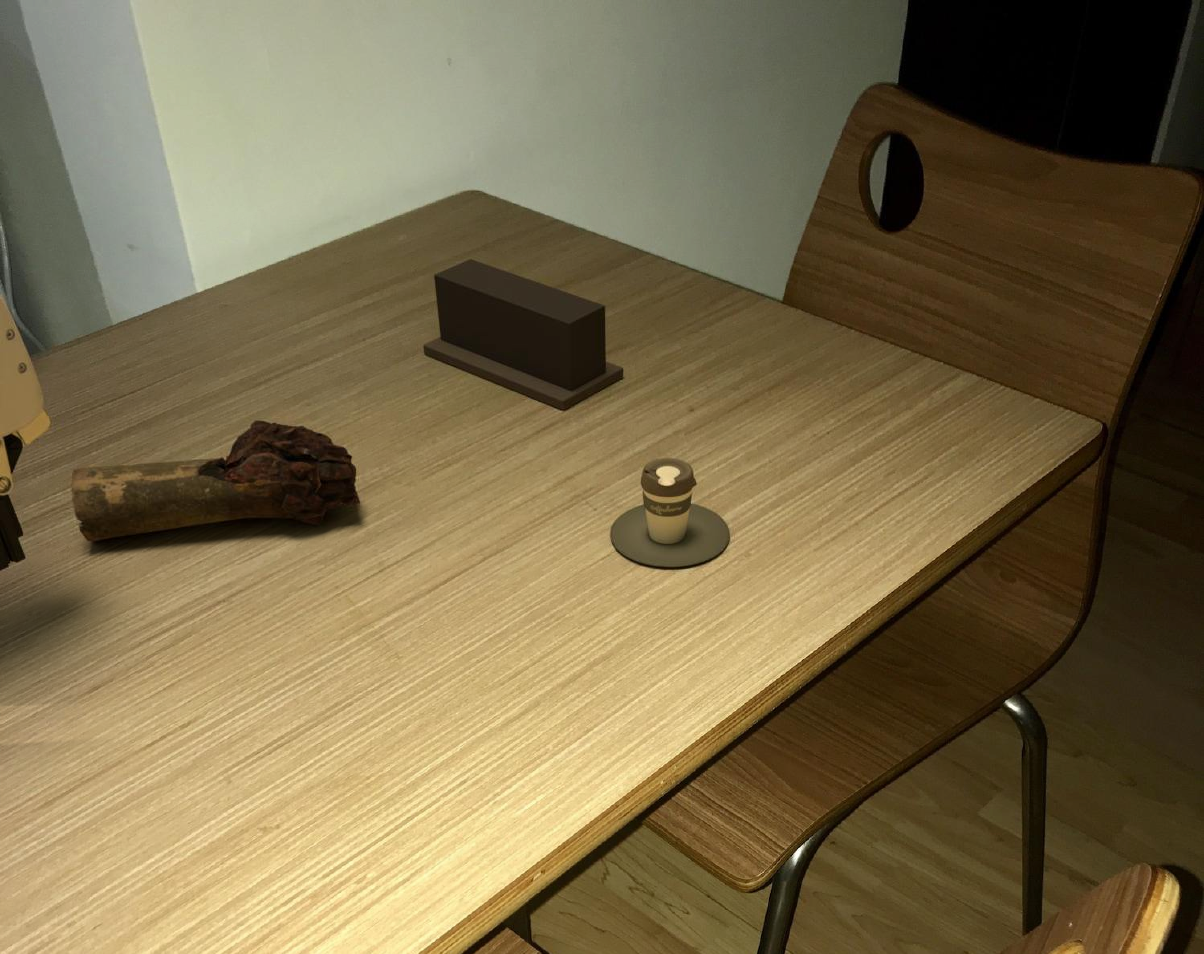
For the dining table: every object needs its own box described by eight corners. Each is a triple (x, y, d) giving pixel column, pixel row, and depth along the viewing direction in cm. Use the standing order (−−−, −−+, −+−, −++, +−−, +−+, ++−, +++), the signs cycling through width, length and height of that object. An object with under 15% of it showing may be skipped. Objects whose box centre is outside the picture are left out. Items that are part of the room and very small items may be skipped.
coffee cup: (743, 484, 88) (747, 416, 84) (773, 585, 79) (779, 514, 76) (567, 493, 87) (565, 426, 84) (578, 596, 79) (576, 525, 75)
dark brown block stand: (423, 354, 103) (415, 279, 99) (485, 324, 107) (479, 251, 102) (563, 411, 96) (560, 332, 92) (623, 377, 99) (623, 300, 95)
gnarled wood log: (85, 555, 83) (58, 476, 79) (102, 501, 88) (77, 425, 84) (362, 531, 84) (349, 453, 80) (363, 480, 89) (350, 403, 85)
